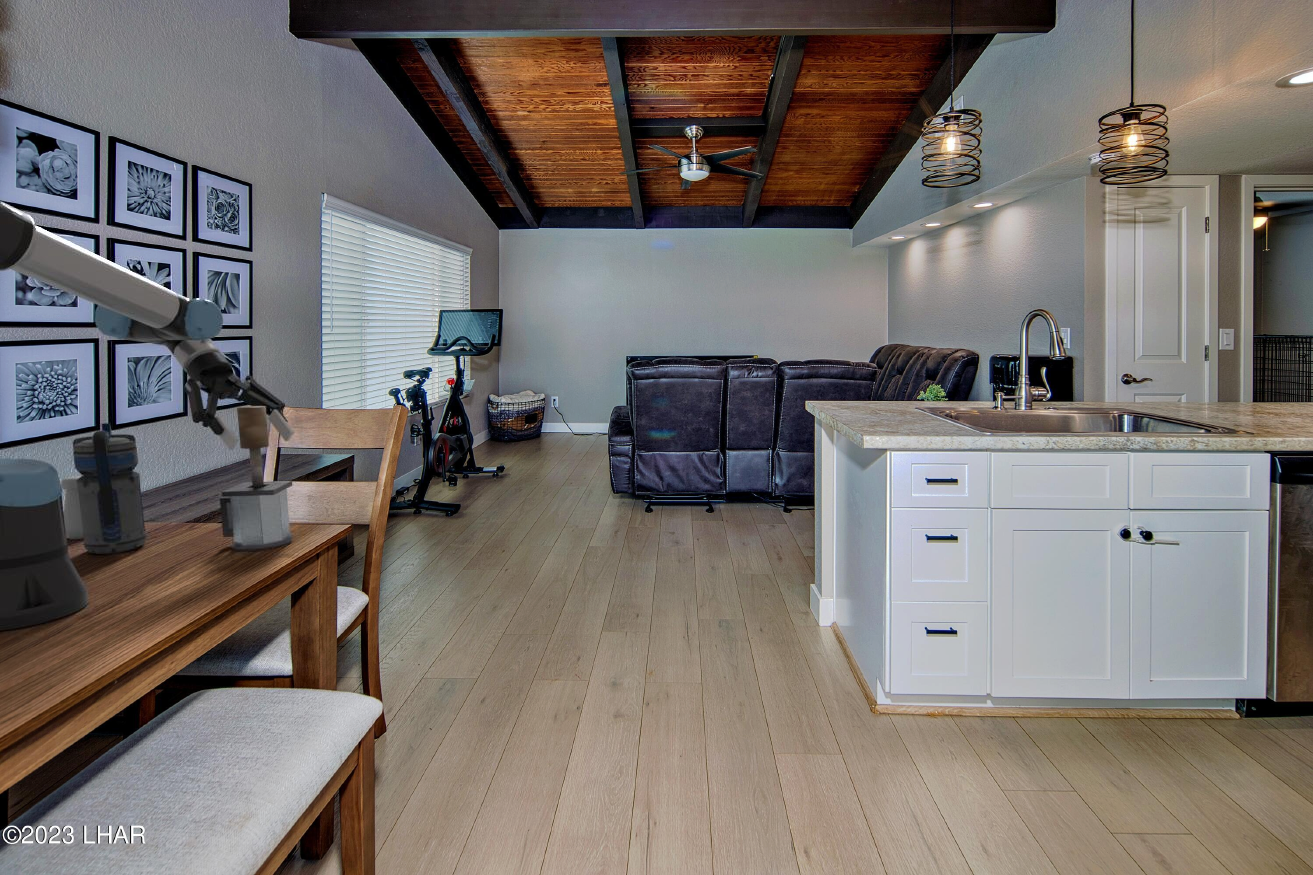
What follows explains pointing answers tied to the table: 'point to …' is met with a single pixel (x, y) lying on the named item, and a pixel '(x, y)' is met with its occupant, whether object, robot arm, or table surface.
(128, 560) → the table surface
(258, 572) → the table surface
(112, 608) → the table surface
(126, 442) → the beverage bottle
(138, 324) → the robot arm
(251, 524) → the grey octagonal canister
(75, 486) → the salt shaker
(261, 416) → the plunger
